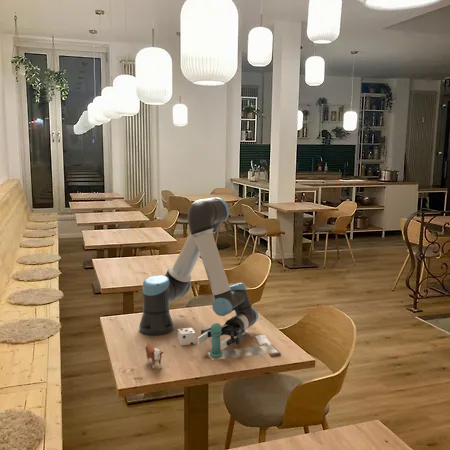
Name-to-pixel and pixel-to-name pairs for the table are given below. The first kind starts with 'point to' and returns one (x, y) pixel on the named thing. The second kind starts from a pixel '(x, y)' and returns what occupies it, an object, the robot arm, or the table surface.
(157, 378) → the table surface
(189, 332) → the die
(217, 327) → the pawn
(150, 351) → the bull figurine
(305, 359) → the table surface
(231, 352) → the board
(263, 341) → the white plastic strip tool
